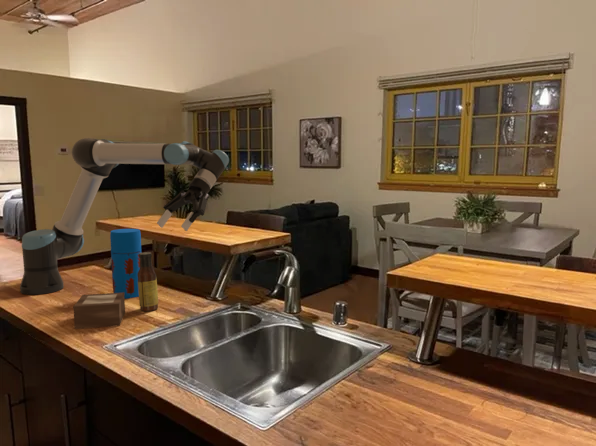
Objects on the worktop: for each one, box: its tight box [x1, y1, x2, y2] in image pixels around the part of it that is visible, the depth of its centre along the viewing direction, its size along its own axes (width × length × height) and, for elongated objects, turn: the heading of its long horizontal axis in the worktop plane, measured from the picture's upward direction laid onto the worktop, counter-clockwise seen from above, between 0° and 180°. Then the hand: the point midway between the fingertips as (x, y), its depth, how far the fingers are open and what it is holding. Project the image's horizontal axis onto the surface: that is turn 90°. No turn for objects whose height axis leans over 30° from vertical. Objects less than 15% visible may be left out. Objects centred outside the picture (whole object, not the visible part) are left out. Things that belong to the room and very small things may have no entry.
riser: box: [72, 292, 126, 330], centre depth 146 cm, size 13×13×7 cm
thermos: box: [109, 228, 142, 300], centre depth 174 cm, size 11×11×25 cm
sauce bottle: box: [138, 251, 159, 312], centre depth 157 cm, size 7×6×20 cm
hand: (171, 227), depth 163 cm, fingers open, 13 cm apart
